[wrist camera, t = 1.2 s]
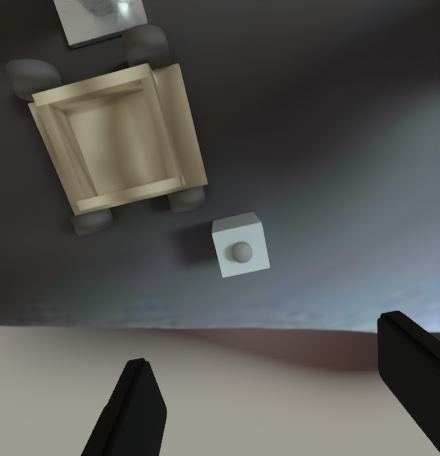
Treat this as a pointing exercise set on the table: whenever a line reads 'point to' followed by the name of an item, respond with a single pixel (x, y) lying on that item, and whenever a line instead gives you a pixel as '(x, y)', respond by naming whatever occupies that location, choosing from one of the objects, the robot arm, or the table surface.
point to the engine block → (240, 244)
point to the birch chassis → (117, 131)
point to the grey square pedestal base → (98, 19)
